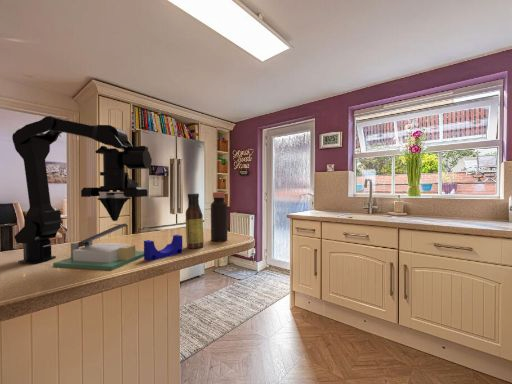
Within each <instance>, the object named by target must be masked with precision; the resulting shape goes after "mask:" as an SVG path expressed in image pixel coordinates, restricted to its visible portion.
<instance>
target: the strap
mask: <svg viewBox="0 0 512 384" xmlns="http://www.w3.org/2000/svg"><path fill="white" fill-rule="evenodd" d="M127 226H128V225H127V223H121V224H117V225H115V226H113V227H111V228H109V229H105V230H103V231H102V232H99V233H97V234H95V235H92V236H89V237H88V238H86V239H83V240H80V241H79V242H77V243H79V248H83V247H85V246H86V245H87V244H88V242H90V241H92V242H93V241H95V240H97V239H100V238H101V237H105V236H107V235H109V234H111V233H114V232H116V231H118V230H120V229H123V228H125V227H127Z"/></svg>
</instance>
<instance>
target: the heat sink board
mask: <svg viewBox="0 0 512 384" xmlns="http://www.w3.org/2000/svg"><path fill="white" fill-rule="evenodd" d="M142 258H144V250H143V251H142V250H136V245H135V244H132V243H117V242H116V243H110V242H108V243H107V242H99V243H95V244H93V241H90V242H88V244H87V245H86V246H82V247H79V243H78V242H71V243H70V257H68V258H65V259H61V260H58V261H55V262H53V263H52V267H55V268H56V267H58V268H70V269H73V268H74V269H84V270H85V269H86V270H87V269H88V270H102V271H103V270H104V271H114V270H116V269H117V268H120V267H124V266H125V265H128V264H130V263H133V262H135V261H137V260H139V259H142Z"/></svg>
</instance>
